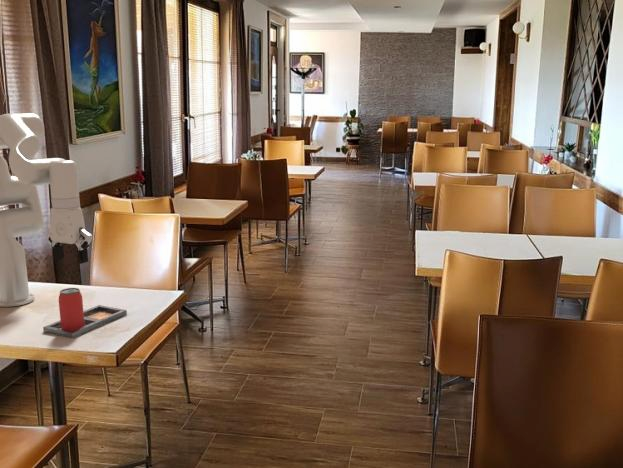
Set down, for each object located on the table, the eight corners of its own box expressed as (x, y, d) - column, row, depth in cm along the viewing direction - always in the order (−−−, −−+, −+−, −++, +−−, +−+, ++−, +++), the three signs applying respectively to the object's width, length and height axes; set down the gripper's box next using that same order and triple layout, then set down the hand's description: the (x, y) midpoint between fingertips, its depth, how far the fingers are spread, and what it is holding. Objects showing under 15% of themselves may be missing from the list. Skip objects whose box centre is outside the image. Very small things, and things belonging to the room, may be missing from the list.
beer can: (76, 333, 186) (73, 294, 183) (56, 331, 187) (53, 293, 185) (89, 325, 192) (85, 287, 190) (69, 324, 194) (66, 286, 191)
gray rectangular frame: (43, 332, 187) (43, 327, 187) (99, 309, 207) (99, 305, 207) (72, 338, 182) (72, 333, 182) (126, 314, 202) (126, 310, 202)
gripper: (34, 203, 183) (39, 260, 186) (78, 207, 175) (83, 267, 179) (54, 199, 189) (59, 255, 193) (98, 203, 182) (102, 261, 185)
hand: (71, 261), depth 186 cm, fingers open, 9 cm apart
